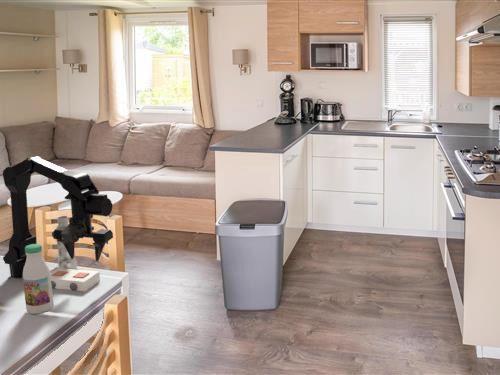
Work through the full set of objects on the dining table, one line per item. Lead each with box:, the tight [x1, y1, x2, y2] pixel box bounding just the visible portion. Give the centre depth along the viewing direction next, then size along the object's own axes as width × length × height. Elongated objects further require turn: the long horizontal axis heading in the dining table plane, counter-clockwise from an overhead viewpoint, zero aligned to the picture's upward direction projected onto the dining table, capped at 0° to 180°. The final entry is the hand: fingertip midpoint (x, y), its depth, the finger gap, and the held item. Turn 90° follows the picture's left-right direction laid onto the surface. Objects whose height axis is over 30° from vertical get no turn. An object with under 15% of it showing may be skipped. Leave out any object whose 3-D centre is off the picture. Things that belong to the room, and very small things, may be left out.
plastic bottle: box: [55, 215, 78, 270], centre depth 193 cm, size 6×7×20 cm
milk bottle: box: [22, 243, 55, 315], centre depth 162 cm, size 8×8×20 cm
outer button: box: [73, 272, 89, 278], centre depth 180 cm, size 4×4×2 cm
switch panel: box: [49, 266, 101, 292], centre depth 181 cm, size 17×9×4 cm, turn 74°
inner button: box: [52, 271, 68, 276], centre depth 182 cm, size 4×4×2 cm
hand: (84, 259), depth 177 cm, fingers open, 9 cm apart
